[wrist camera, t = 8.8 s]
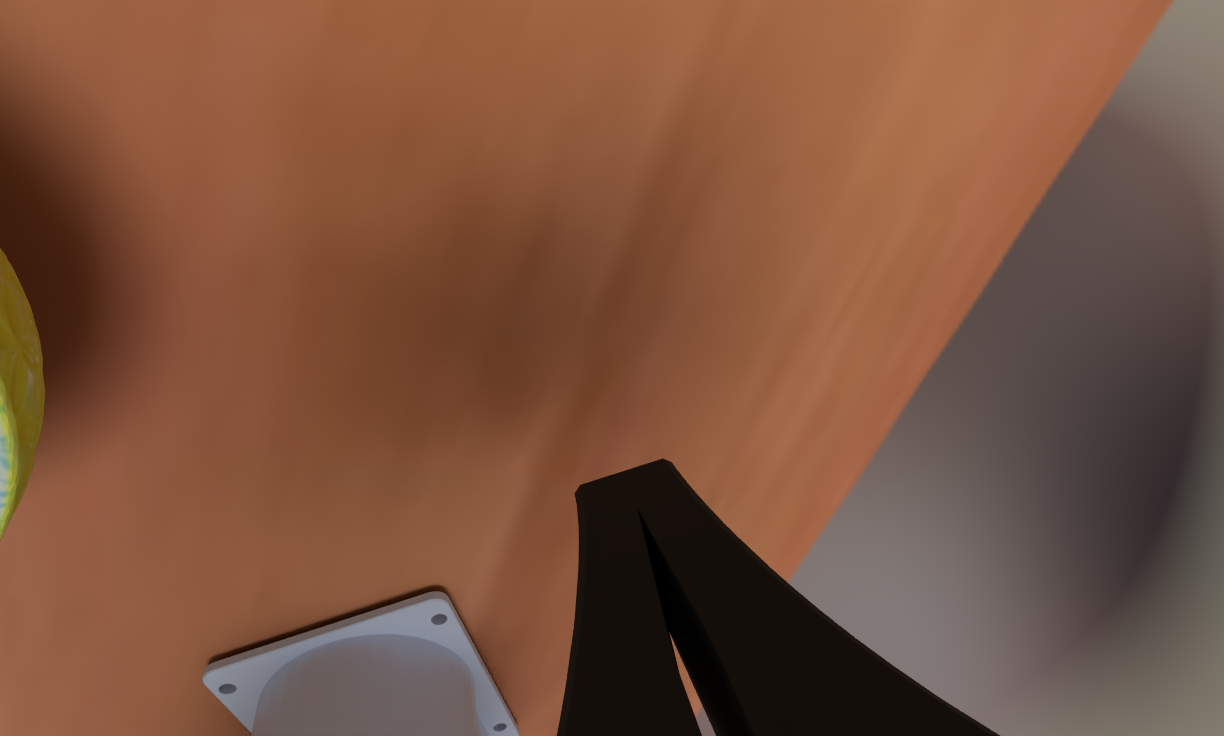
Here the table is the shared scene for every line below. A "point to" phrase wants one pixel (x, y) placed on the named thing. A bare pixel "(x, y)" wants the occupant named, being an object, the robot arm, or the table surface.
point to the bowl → (17, 391)
